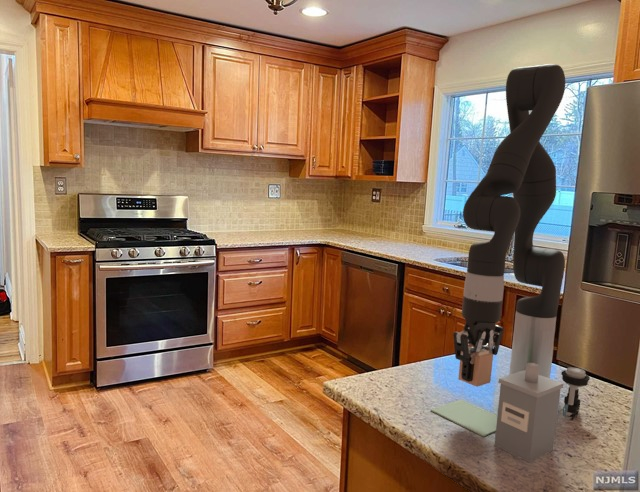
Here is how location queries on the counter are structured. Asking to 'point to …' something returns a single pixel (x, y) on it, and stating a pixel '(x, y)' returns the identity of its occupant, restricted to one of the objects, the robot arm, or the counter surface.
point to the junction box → (527, 413)
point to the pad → (468, 416)
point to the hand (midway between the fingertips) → (474, 377)
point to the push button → (573, 390)
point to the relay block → (480, 368)
